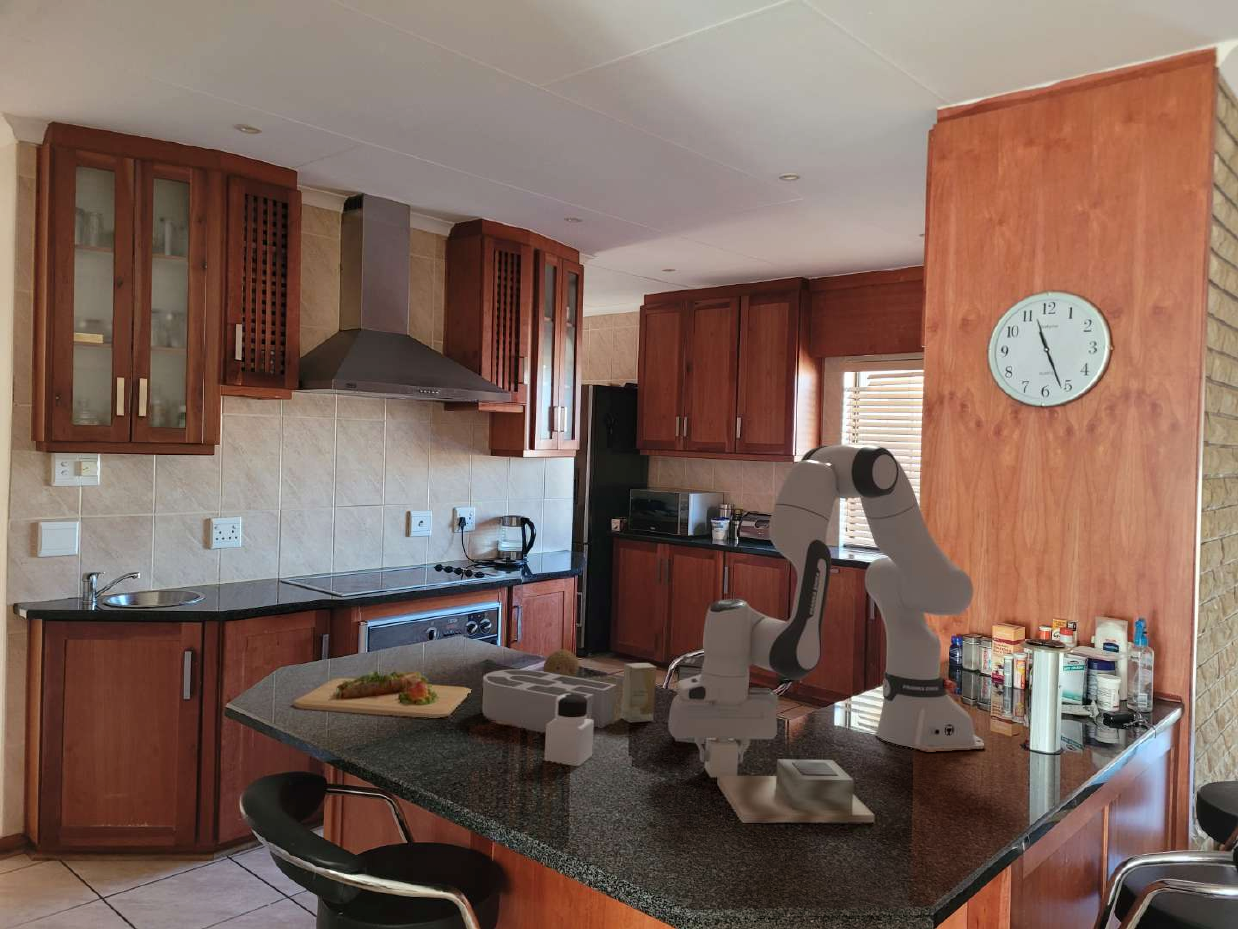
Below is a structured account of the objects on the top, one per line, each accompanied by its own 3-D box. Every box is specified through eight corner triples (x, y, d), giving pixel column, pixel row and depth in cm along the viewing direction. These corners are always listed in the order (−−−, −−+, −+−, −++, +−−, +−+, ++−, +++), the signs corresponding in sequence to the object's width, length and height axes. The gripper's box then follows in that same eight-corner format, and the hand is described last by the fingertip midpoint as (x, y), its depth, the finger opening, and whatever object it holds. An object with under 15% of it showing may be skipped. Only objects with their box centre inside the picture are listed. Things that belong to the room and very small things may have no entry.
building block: (730, 768, 172) (732, 732, 172) (736, 777, 167) (738, 740, 167) (704, 768, 171) (706, 732, 171) (710, 777, 166) (712, 740, 166)
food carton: (679, 729, 196) (683, 655, 196) (709, 732, 194) (713, 657, 194) (673, 741, 187) (677, 663, 187) (704, 744, 185) (708, 666, 185)
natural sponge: (576, 695, 220) (578, 654, 220) (540, 693, 220) (542, 652, 220) (578, 686, 229) (580, 646, 229) (543, 684, 229) (545, 645, 229)
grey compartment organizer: (577, 743, 183) (579, 700, 183) (465, 719, 196) (467, 679, 196) (615, 724, 198) (617, 684, 198) (509, 703, 211) (510, 666, 211)
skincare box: (629, 723, 198) (632, 667, 198) (620, 718, 202) (622, 663, 202) (654, 721, 201) (657, 666, 201) (645, 715, 205) (647, 662, 205)
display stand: (835, 784, 165) (836, 748, 165) (874, 824, 147) (876, 783, 147) (717, 784, 163) (719, 746, 163) (742, 824, 145) (744, 782, 145)
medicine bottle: (592, 756, 175) (595, 694, 175) (579, 767, 168) (582, 702, 168) (558, 750, 177) (561, 689, 177) (543, 761, 170) (546, 697, 170)
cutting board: (474, 696, 217) (476, 664, 217) (446, 723, 194) (448, 688, 194) (334, 685, 221) (336, 654, 221) (290, 710, 197) (292, 676, 197)
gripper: (773, 684, 173) (770, 756, 173) (668, 682, 171) (665, 755, 171) (783, 692, 167) (780, 767, 167) (674, 690, 164) (670, 766, 164)
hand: (721, 761), depth 169 cm, fingers closed on building block, 5 cm apart
